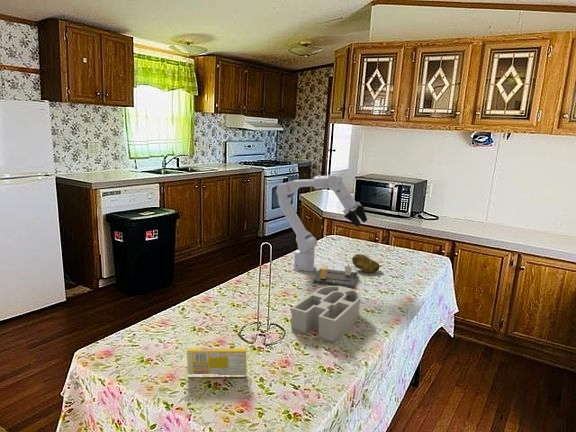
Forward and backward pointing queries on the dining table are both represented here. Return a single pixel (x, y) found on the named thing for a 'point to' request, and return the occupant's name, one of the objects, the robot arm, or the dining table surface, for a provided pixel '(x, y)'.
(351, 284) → the console
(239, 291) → the dining table surface
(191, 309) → the dining table surface
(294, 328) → the grey compartment organizer
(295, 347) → the dining table surface
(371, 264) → the potato
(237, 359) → the candy box
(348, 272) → the fader far
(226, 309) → the dining table surface
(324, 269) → the fader near
